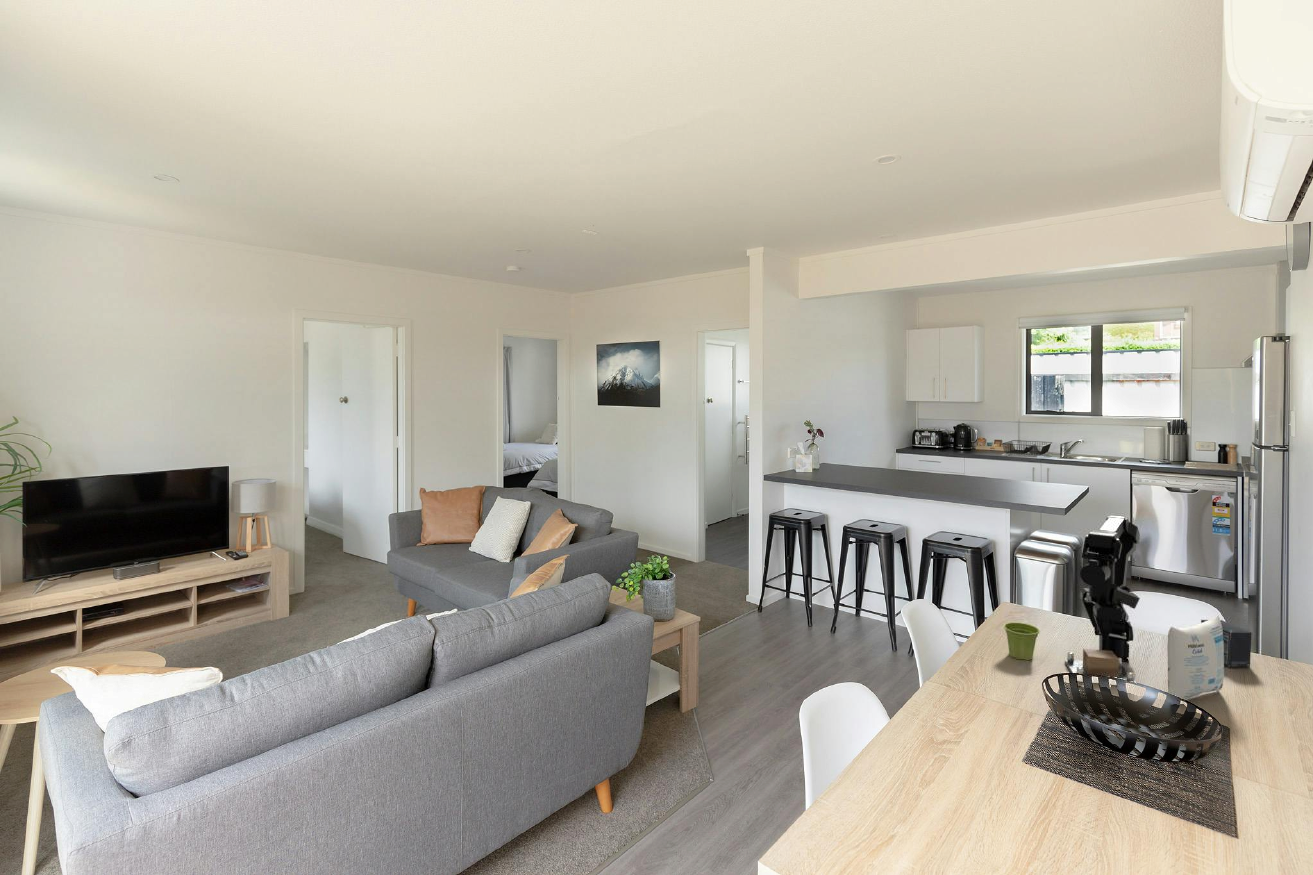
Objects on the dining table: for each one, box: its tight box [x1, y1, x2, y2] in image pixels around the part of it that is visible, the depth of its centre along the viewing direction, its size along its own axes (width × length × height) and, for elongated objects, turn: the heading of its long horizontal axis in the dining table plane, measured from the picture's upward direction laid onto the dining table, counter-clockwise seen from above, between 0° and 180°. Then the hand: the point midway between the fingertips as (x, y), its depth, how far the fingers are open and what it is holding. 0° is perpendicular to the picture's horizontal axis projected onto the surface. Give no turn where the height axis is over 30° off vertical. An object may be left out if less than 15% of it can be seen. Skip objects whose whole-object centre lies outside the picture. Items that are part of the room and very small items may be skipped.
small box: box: [1200, 619, 1253, 669], centre depth 189 cm, size 11×6×10 cm, turn 179°
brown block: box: [1082, 647, 1119, 677], centre depth 182 cm, size 6×7×5 cm
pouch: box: [1166, 615, 1225, 701], centre depth 167 cm, size 8×19×20 cm, turn 107°
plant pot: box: [1003, 622, 1040, 661], centre depth 196 cm, size 9×9×9 cm
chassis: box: [1064, 651, 1137, 684], centre depth 182 cm, size 14×13×3 cm
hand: (1100, 633), depth 182 cm, fingers open, 9 cm apart
